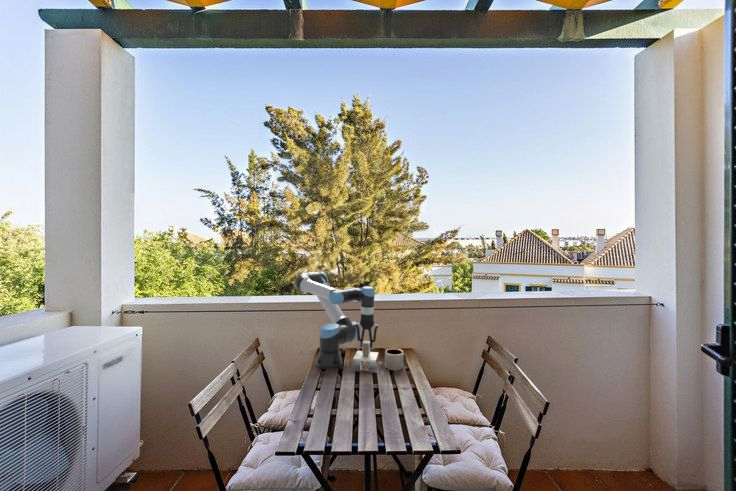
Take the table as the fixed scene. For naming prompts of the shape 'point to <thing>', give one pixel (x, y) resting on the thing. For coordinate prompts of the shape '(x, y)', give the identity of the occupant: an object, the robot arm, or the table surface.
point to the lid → (366, 354)
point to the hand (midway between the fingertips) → (366, 352)
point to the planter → (394, 359)
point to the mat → (356, 367)
